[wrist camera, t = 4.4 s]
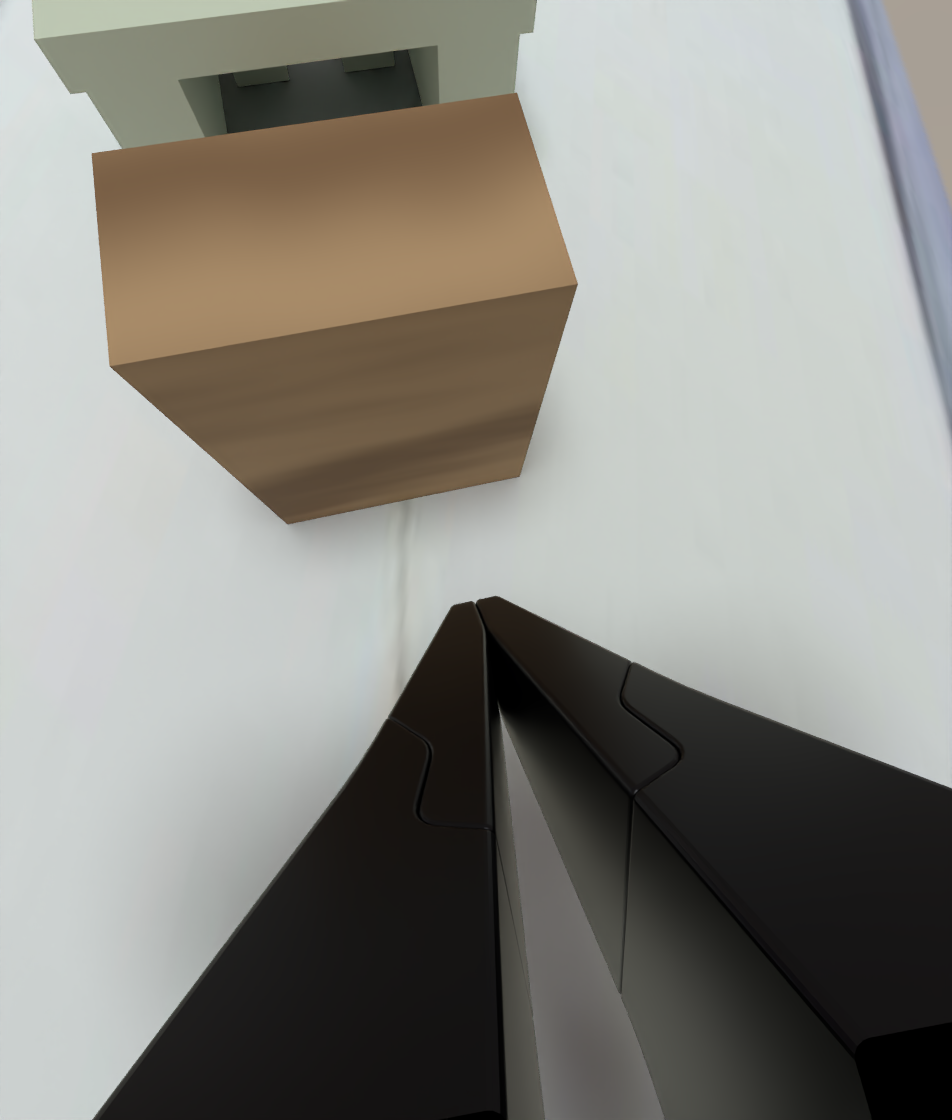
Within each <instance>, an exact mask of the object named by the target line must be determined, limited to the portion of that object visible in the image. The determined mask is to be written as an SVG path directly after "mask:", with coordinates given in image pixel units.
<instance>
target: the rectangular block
mask: <svg viewBox="0 0 952 1120" xmlns="http://www.w3.org/2000/svg"><path fill="white" fill-rule="evenodd" d="M92 164H93V175H94V187H95V199H96V211H97V222H98V234H99V246H100V258H101V270H102V281H103V293H104V305H105V317H106V328H107V340H108V352H109V364H110V367H111V368H112V369H113V370H114V371H116V372H117V373H118V374H119V375H120V376H121V377H122V378H123V379H125V380H126V381H127V382H128V383H129V384H130V385H131V386H132V387H134V388H135V389H136V390H137V391H138V392H139V393H140V394H141V395H143V396H144V397H145V398H146V399H147V400H148V401H149V402H150V403H152V404H153V405H154V406H155V407H156V408H157V409H158V410H159V411H161V412H162V413H163V414H164V415H165V416H166V417H167V418H168V419H170V420H171V421H172V422H173V423H174V424H175V425H176V426H178V427H179V428H180V429H181V430H182V431H183V432H184V433H185V434H187V435H188V436H189V437H190V438H191V439H192V440H193V441H194V442H196V443H197V444H198V445H199V446H200V447H201V448H202V449H203V450H205V451H206V452H207V453H208V454H209V455H210V456H211V457H212V458H214V459H215V460H216V461H217V462H218V463H219V464H220V465H221V466H223V467H224V468H225V469H226V470H227V471H228V472H229V473H230V474H232V475H233V476H234V477H235V478H236V479H237V480H238V481H239V482H241V483H242V484H243V485H244V486H245V487H246V488H247V489H248V490H250V491H251V492H252V493H253V494H254V495H255V496H256V497H257V498H259V499H260V500H261V501H262V502H263V503H264V504H265V505H266V506H268V507H269V508H270V509H271V510H272V511H273V512H274V513H275V514H277V515H278V516H279V517H280V518H281V519H282V520H283V521H285V522H286V523H287V524H291V523H296V522H301V521H306V520H311V519H316V518H321V517H325V516H330V515H335V514H340V513H345V512H350V511H355V510H359V509H364V508H369V507H374V506H379V505H384V504H389V503H393V502H398V501H403V500H408V499H413V498H418V497H423V496H427V495H432V494H437V493H442V492H447V491H452V490H457V489H461V488H466V487H471V486H476V485H481V484H486V483H491V482H495V481H500V480H505V479H510V478H515V477H520V473H521V470H522V467H523V463H524V460H525V457H526V453H527V450H528V447H529V444H530V440H531V437H532V434H533V430H534V427H535V424H536V420H537V417H538V414H539V410H540V407H541V404H542V401H543V397H544V394H545V391H546V387H547V384H548V381H549V377H550V374H551V371H552V367H553V364H554V361H555V357H556V354H557V351H558V348H559V344H560V341H561V338H562V334H563V331H564V328H565V324H566V321H567V318H568V314H569V311H570V308H571V305H572V301H573V298H574V295H575V291H576V288H577V285H578V283H577V280H576V277H575V274H574V271H573V268H572V264H571V261H570V258H569V255H568V252H567V249H566V246H565V242H564V239H563V236H562V233H561V230H560V227H559V224H558V220H557V217H556V214H555V211H554V208H553V205H552V202H551V198H550V195H549V192H548V189H547V186H546V183H545V180H544V176H543V173H542V170H541V167H540V164H539V161H538V158H537V154H536V151H535V148H534V145H533V142H532V139H531V136H530V132H529V129H528V126H527V123H526V120H525V117H524V114H523V110H522V107H521V104H520V101H519V98H518V95H517V93H511V94H504V95H497V96H490V97H483V98H476V99H469V100H462V101H455V102H448V103H441V104H434V105H427V106H420V107H413V108H406V109H399V110H392V111H385V112H378V113H371V114H364V115H357V116H350V117H343V118H336V119H329V120H322V121H315V122H308V123H301V124H294V125H287V126H280V127H273V128H266V129H259V130H252V131H245V132H238V133H231V134H224V135H217V136H210V137H203V138H196V139H189V140H182V141H175V142H168V143H161V144H154V145H147V146H140V147H133V148H126V149H119V150H112V151H105V152H98V153H92Z"/></svg>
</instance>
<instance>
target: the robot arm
mask: <svg viewBox="0 0 952 1120" xmlns="http://www.w3.org/2000/svg"><path fill="white" fill-rule="evenodd" d="M498 706H499V707H498ZM499 710H500V713H501V716H502V718H503V721H504V724H505V726H506V728H507V731H508V733H509V735H510V738H511V740H512V743H513V745H514V747H515V750H516V752H517V754H518V757H519V759H520V761H521V764H522V766H523V768H524V771H525V773H526V775H527V778H528V780H529V782H530V785H531V787H532V790H533V792H534V794H535V797H536V799H537V801H538V804H539V806H540V808H541V811H542V813H543V815H544V818H545V820H546V822H547V825H548V827H549V829H550V832H551V834H552V836H553V839H554V841H555V844H556V846H557V848H558V851H559V853H560V855H561V858H562V860H563V862H564V865H565V867H566V869H567V872H568V874H569V876H570V879H571V881H572V883H573V886H574V888H575V891H576V893H577V895H578V898H579V900H580V902H581V905H582V907H583V909H584V912H585V914H586V916H587V919H588V921H589V923H590V926H591V928H592V930H593V933H594V935H595V938H596V940H597V942H598V945H599V947H600V949H601V952H602V954H603V956H604V959H605V961H606V963H607V966H608V968H609V970H610V973H611V975H612V977H613V980H614V982H615V985H616V987H617V989H618V991H619V993H620V994H621V998H622V1001H623V1003H624V1005H625V1008H626V1010H627V1013H628V1015H629V1018H630V1020H631V1023H632V1025H633V1028H634V1031H635V1033H636V1036H637V1038H638V1041H639V1044H640V1046H641V1049H642V1052H643V1055H644V1058H645V1060H646V1063H647V1066H648V1069H649V1072H650V1075H651V1078H652V1081H653V1084H654V1087H655V1090H656V1093H657V1096H658V1099H659V1102H660V1105H661V1108H662V1111H663V1114H664V1117H665V1120H952V788H949V787H947V786H944V785H941V784H939V783H936V782H933V781H931V780H928V779H926V778H923V777H920V776H918V775H915V774H913V773H910V772H907V771H905V770H902V769H899V768H897V767H894V766H892V765H889V764H886V763H884V762H881V761H878V760H876V759H873V758H871V757H868V756H865V755H863V754H860V753H858V752H855V751H852V750H850V749H847V748H844V747H842V746H839V745H837V744H834V743H831V742H829V741H826V740H824V739H821V738H818V737H816V736H813V735H810V734H808V733H805V732H803V731H800V730H797V729H795V728H792V727H790V726H787V725H784V724H782V723H779V722H776V721H774V720H771V719H769V718H766V717H763V716H761V715H758V714H755V713H753V712H750V711H748V710H745V709H742V708H740V707H737V706H735V705H732V704H729V703H727V702H724V701H722V700H719V699H717V698H714V697H712V696H709V695H707V694H704V693H702V692H699V691H697V690H694V689H692V688H690V687H687V686H685V685H683V684H680V683H678V682H676V681H674V680H672V679H669V678H667V677H665V676H663V675H661V674H658V673H656V672H654V671H652V670H650V669H648V668H646V667H644V666H642V665H640V664H638V663H635V662H633V663H631V661H630V660H628V659H626V658H623V657H621V656H619V655H617V654H615V653H613V652H611V651H609V650H607V649H605V648H603V647H601V646H599V645H597V644H595V643H593V642H591V641H589V640H587V639H585V638H583V637H581V636H579V635H576V634H574V633H572V632H570V631H568V630H566V629H564V628H562V627H560V626H558V625H556V624H554V623H552V622H550V621H548V620H546V619H544V618H542V617H540V616H538V615H536V614H534V613H532V612H529V611H527V610H525V609H523V608H521V607H519V606H517V605H515V604H513V603H511V602H509V601H507V600H505V599H503V598H501V597H498V596H493V597H488V598H484V599H479V600H478V601H477V602H476V604H475V603H474V602H472V601H470V602H465V603H461V604H456V605H453V606H452V607H451V608H450V610H449V612H448V613H447V615H446V617H445V619H444V620H443V622H442V624H441V626H440V627H439V629H438V631H437V633H436V634H435V636H434V638H433V640H432V641H431V643H430V645H429V647H428V648H427V650H426V652H425V653H424V655H423V657H422V659H421V660H420V662H419V664H418V666H417V667H416V669H415V671H414V673H413V674H412V676H411V678H410V680H409V681H408V683H407V685H406V687H405V688H404V690H403V692H402V694H401V695H400V697H399V699H398V700H397V702H396V704H395V706H394V707H393V709H392V711H391V713H390V714H389V716H388V719H386V720H385V722H384V723H383V725H382V727H381V729H380V730H379V732H378V734H377V735H376V737H375V739H374V740H373V742H372V743H371V745H370V747H369V748H368V750H367V752H366V753H365V755H364V756H363V758H362V760H361V761H360V763H359V764H358V766H357V767H356V768H355V770H354V771H353V773H352V774H351V775H350V777H349V778H348V780H347V781H346V782H345V784H344V785H343V787H342V788H341V789H340V791H339V792H338V794H337V795H336V796H335V798H334V799H333V800H332V802H331V803H330V804H329V806H328V807H327V808H326V810H325V811H324V812H323V814H322V815H321V816H320V818H319V819H318V820H317V822H316V823H315V824H314V826H313V827H312V828H311V830H310V831H309V832H308V834H307V835H306V836H305V838H304V839H303V840H302V842H301V843H300V844H299V846H298V847H297V848H296V850H295V851H294V852H293V854H292V855H291V856H290V858H289V859H288V860H287V862H286V863H285V864H284V866H283V867H282V868H281V870H280V871H279V872H278V874H277V875H276V876H275V878H274V879H273V880H272V882H271V883H270V884H269V886H268V887H267V888H266V889H265V891H264V892H263V893H262V895H261V896H260V897H259V899H258V900H257V901H256V903H255V904H254V905H253V907H252V908H251V909H250V911H249V912H248V913H247V915H246V916H245V917H244V919H243V920H242V921H241V923H240V924H239V925H238V927H237V928H236V929H235V931H234V932H233V933H232V935H231V936H230V937H229V939H228V940H227V941H226V943H225V944H224V945H223V947H222V948H221V949H220V951H219V952H218V953H217V955H216V956H215V957H214V959H213V960H212V961H211V963H210V964H209V965H208V967H207V968H206V969H205V971H204V972H203V973H202V975H201V976H200V977H199V979H198V980H197V981H196V983H195V984H194V985H193V987H192V988H191V989H190V991H189V992H188V993H187V994H186V996H185V997H184V998H183V1000H182V1001H181V1002H180V1004H179V1005H178V1006H177V1008H176V1009H175V1010H174V1012H173V1013H172V1014H171V1016H170V1017H169V1018H168V1020H167V1021H166V1022H165V1024H164V1025H163V1026H162V1028H161V1029H160V1030H159V1032H158V1033H157V1034H156V1036H155V1037H154V1038H153V1040H152V1041H151V1042H150V1044H149V1045H148V1046H147V1048H146V1049H145V1050H144V1052H143V1053H142V1054H141V1056H140V1057H139V1058H138V1060H137V1061H136V1062H135V1064H134V1065H133V1066H132V1068H131V1069H130V1070H129V1072H128V1073H127V1074H126V1076H125V1077H124V1078H123V1080H122V1081H121V1082H120V1084H119V1085H118V1086H117V1088H116V1089H115V1090H114V1092H113V1093H112V1094H111V1096H110V1097H109V1098H108V1099H107V1101H106V1102H105V1103H104V1105H103V1106H102V1107H101V1109H100V1110H99V1111H98V1113H97V1114H96V1115H95V1117H94V1118H93V1119H92V1120H545V1115H544V1107H543V1099H542V1090H541V1082H540V1074H539V1065H538V1057H537V1048H536V1039H535V1030H534V1022H533V1012H532V1003H531V993H530V984H529V975H528V966H527V957H526V947H525V938H524V929H523V920H522V911H521V901H520V892H519V883H518V874H517V865H516V855H515V846H514V837H513V828H512V819H511V809H510V800H509V791H508V782H507V773H506V763H505V754H504V745H503V736H502V727H501V720H500V713H499Z"/></svg>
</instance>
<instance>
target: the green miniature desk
mask: <svg viewBox="0 0 952 1120" xmlns="http://www.w3.org/2000/svg"><path fill="white" fill-rule="evenodd" d="M536 3H537V0H32V11H33V29H34V40H35V41H36V43H37V44H38V46H39V47H40V49H41V50H42V52H43V53H44V55H45V56H46V58H47V59H48V61H49V62H50V64H51V65H52V67H53V68H54V70H55V71H56V73H57V74H58V76H59V77H60V79H61V80H62V82H63V83H64V85H65V86H66V88H67V89H68V91H69V92H70V94H75V93H83V92H86V93H87V94H88V96H89V97H90V99H91V100H92V102H93V104H94V105H95V107H96V108H97V110H98V111H99V113H100V115H101V116H102V118H103V119H104V121H105V122H106V124H107V126H108V127H109V129H110V130H111V132H112V133H113V135H114V137H115V138H116V140H117V141H118V143H119V144H120V146H121V148H122V149H126V148H133V147H140V146H147V145H154V144H161V143H168V142H175V141H182V140H189V139H196V138H203V137H210V136H217V135H224V134H227V128H226V122H225V115H224V109H223V102H222V96H221V90H220V83H219V77H218V74H225V73H233V75H234V78H235V81H236V83H237V86H238V87H242V86H250V85H257V84H265V83H272V82H279V81H287V80H290V79H289V74H288V69H287V65H292V64H300V63H307V62H315V61H322V60H330V59H337V58H342V62H343V67H344V71H345V72H353V71H360V70H368V69H375V68H382V67H390V66H395V62H394V53H393V51H397V50H405V49H408V53H409V56H410V60H411V64H412V68H413V71H414V75H415V79H416V83H417V86H418V90H419V94H420V98H421V101H422V105H423V106H427V105H434V104H441V103H448V102H455V101H462V100H469V99H476V98H483V97H490V96H497V95H504V94H511V93H514V90H515V79H516V68H517V58H518V47H519V36H520V34H524V33H532V32H533V30H534V21H535V12H536Z"/></svg>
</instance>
